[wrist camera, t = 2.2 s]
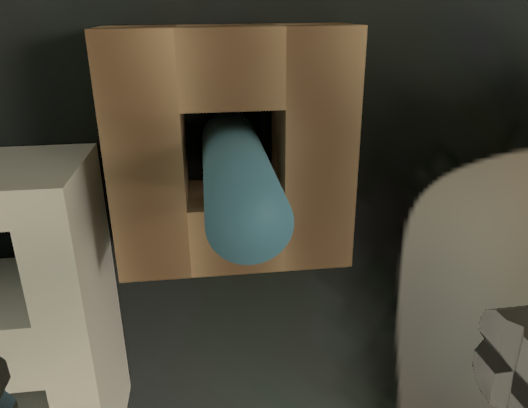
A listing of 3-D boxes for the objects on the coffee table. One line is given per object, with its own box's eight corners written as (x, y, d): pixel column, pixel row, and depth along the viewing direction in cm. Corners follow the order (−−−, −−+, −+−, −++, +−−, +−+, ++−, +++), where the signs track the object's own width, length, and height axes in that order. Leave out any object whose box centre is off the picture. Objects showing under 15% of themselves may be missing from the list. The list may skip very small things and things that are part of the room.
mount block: (338, 22, 21) (367, 25, 18) (329, 228, 25) (351, 266, 21) (104, 25, 20) (84, 29, 17) (131, 240, 24) (119, 282, 20)
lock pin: (255, 110, 22) (294, 180, 13) (256, 162, 23) (293, 262, 14) (200, 112, 22) (202, 185, 13) (203, 164, 23) (207, 267, 14)
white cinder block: (96, 143, 22) (62, 188, 17) (130, 386, 27) (113, 482, 22) (-93, 150, 21) (-196, 200, 16) (-21, 400, 26) (-78, 504, 21)
